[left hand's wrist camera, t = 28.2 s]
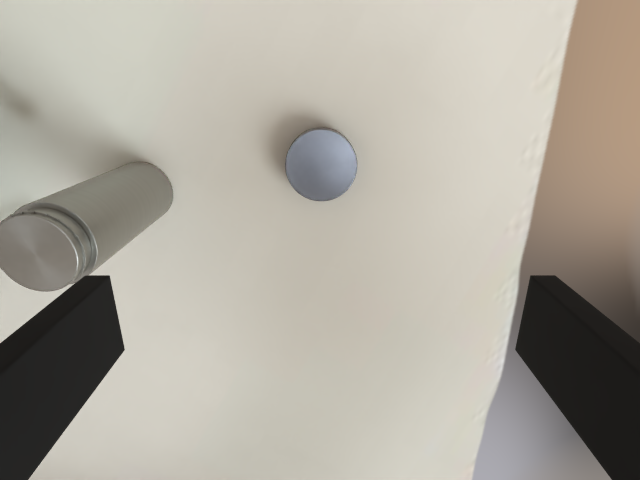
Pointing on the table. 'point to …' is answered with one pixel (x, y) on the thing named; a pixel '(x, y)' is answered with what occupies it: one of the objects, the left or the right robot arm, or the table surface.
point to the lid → (321, 164)
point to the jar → (81, 226)
